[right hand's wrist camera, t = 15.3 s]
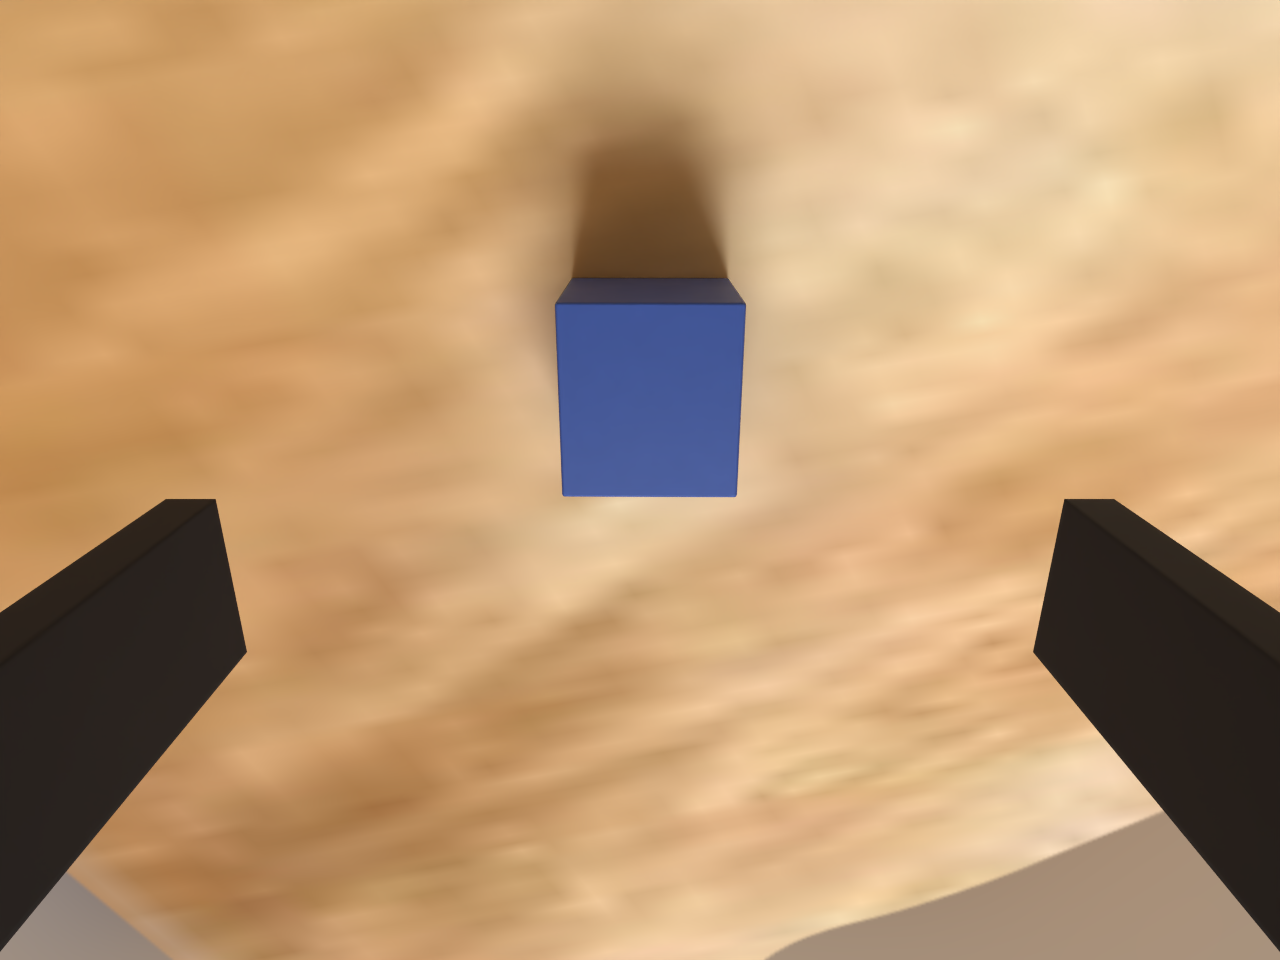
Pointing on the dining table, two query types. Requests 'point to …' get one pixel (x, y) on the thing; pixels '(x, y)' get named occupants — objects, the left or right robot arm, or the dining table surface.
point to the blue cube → (650, 386)
